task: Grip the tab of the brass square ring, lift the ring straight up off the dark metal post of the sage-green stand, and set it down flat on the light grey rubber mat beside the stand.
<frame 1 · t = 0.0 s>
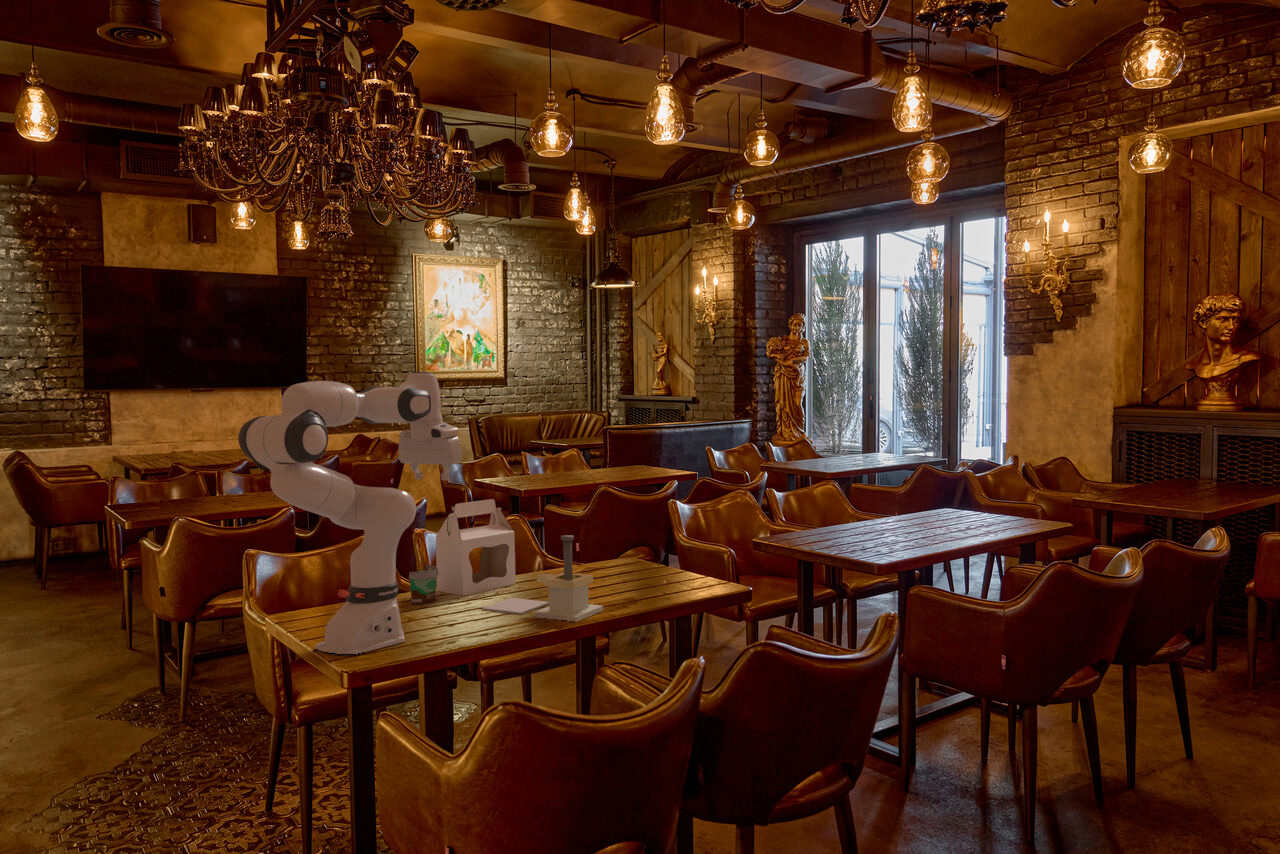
hand: (432, 479, 251), 39 cm above the table, tool pointing down, fingers open, 8 cm apart
food container: (428, 602, 273), on the table
gable box: (476, 588, 292), on the table
stand: (569, 614, 254), on the table
mat: (516, 606, 264), on the table
ring: (568, 584, 253), point 8 cm above the table, touching stand
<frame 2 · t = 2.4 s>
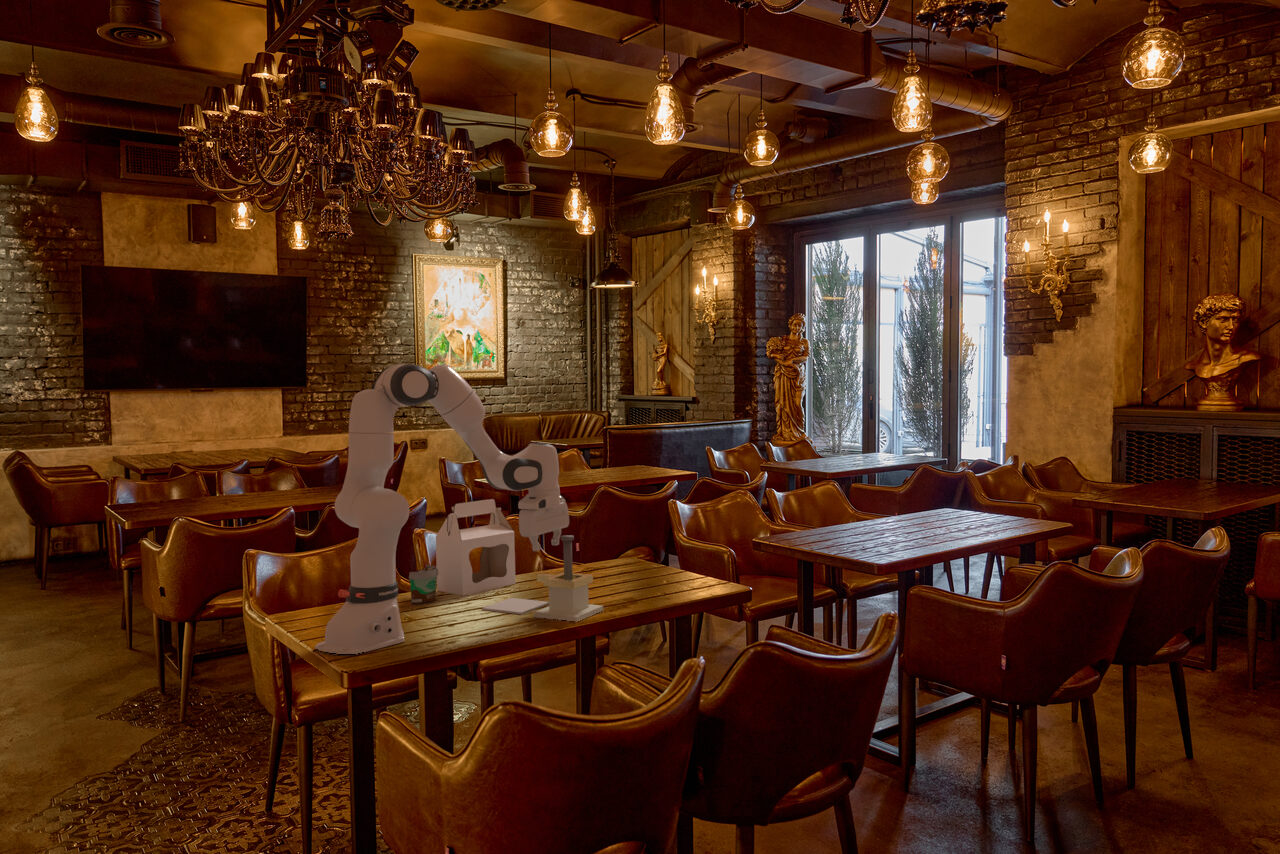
hand: (546, 547, 257), 18 cm above the table, tool pointing down, fingers open, 8 cm apart
nothing on the table moved.
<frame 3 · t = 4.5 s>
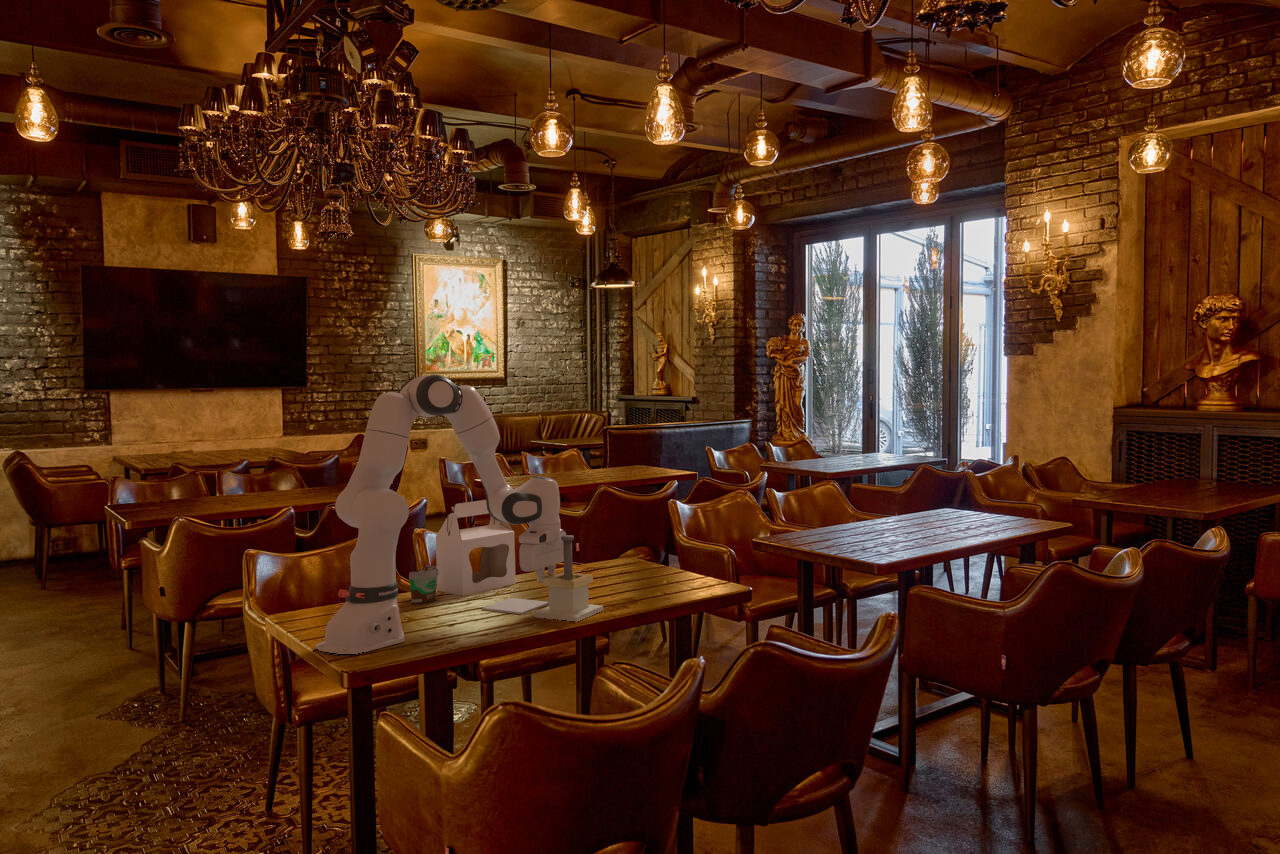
hand: (546, 581, 257), 9 cm above the table, tool pointing down, fingers closed on ring, 2 cm apart
ring: (568, 584, 253), point 8 cm above the table, touching gripper, stand
everything else where it was.
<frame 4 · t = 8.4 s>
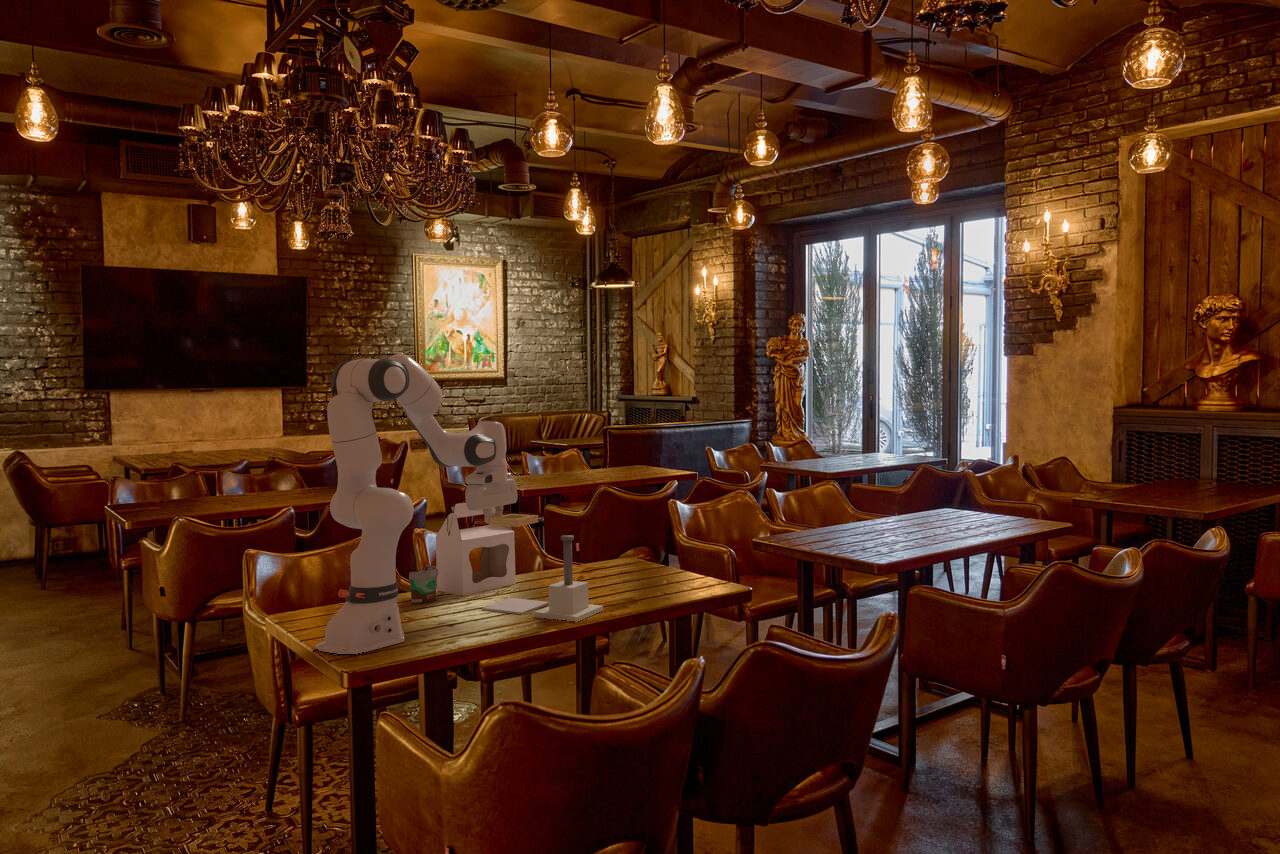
hand: (493, 522, 266), 25 cm above the table, tool pointing down, fingers closed on ring
ring: (514, 523, 263), point 24 cm above the table, touching gripper
everything else where it was.
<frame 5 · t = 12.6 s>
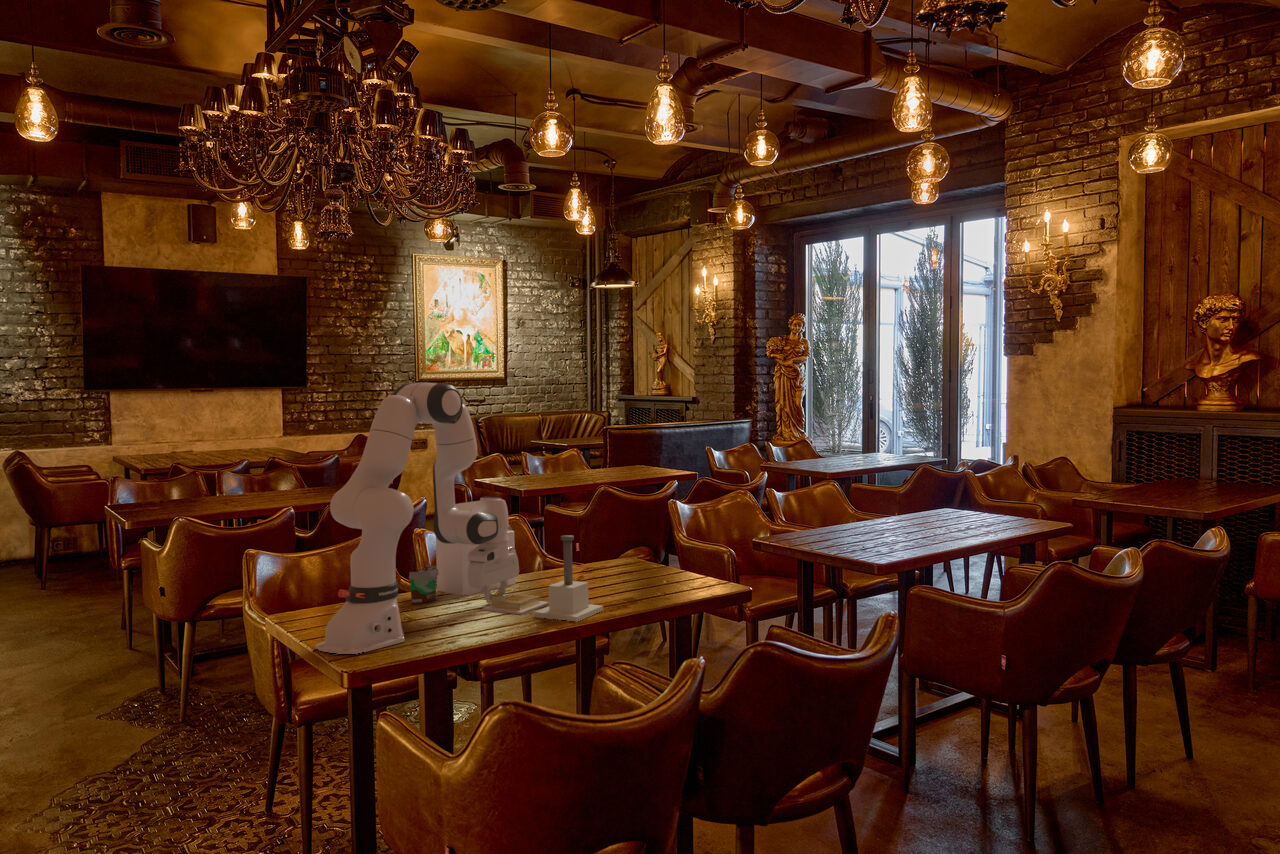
hand: (495, 597, 267), 2 cm above the table, tool pointing down, fingers open, 5 cm apart
ring: (515, 604, 264), point 1 cm above the table, touching mat
everything else where it was.
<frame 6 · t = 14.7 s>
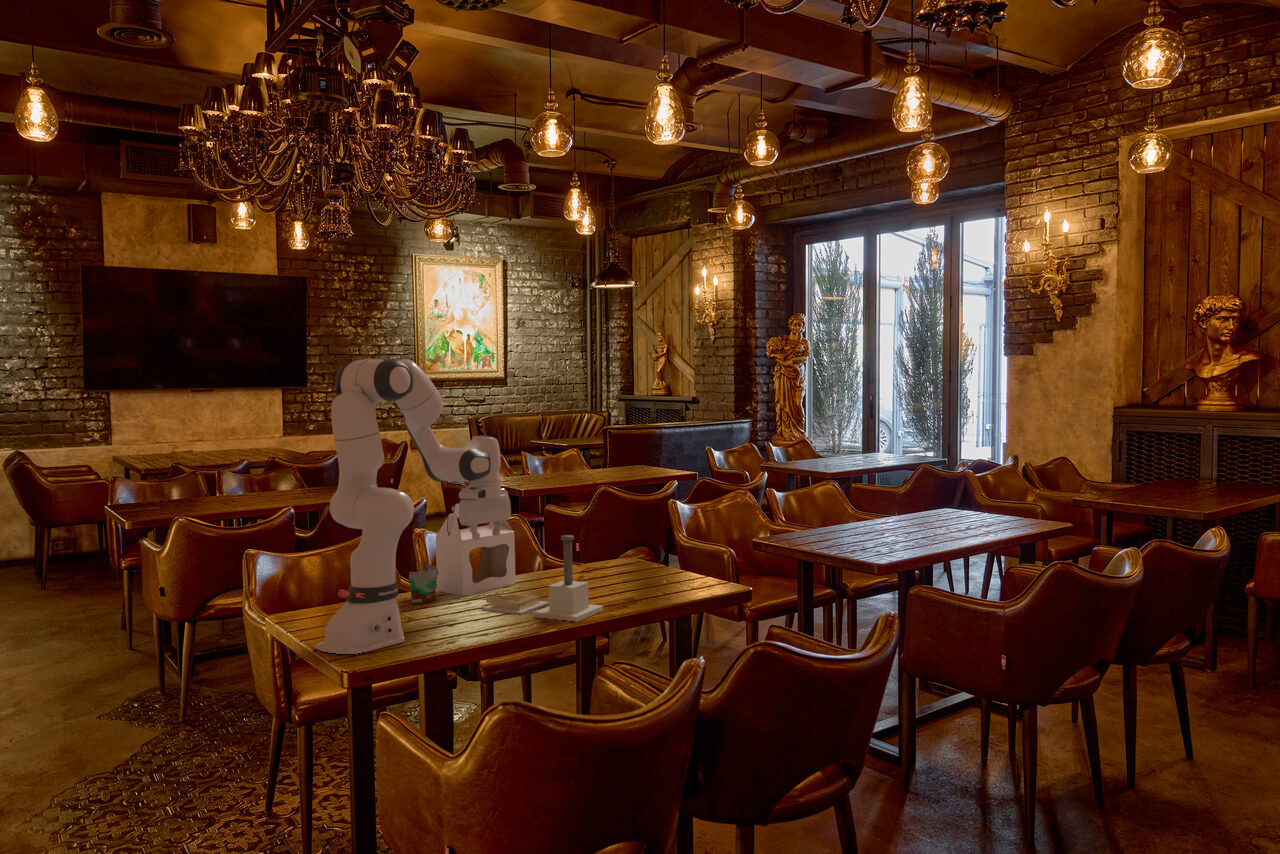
hand: (486, 537, 266), 20 cm above the table, tool pointing down, fingers open, 8 cm apart
nothing on the table moved.
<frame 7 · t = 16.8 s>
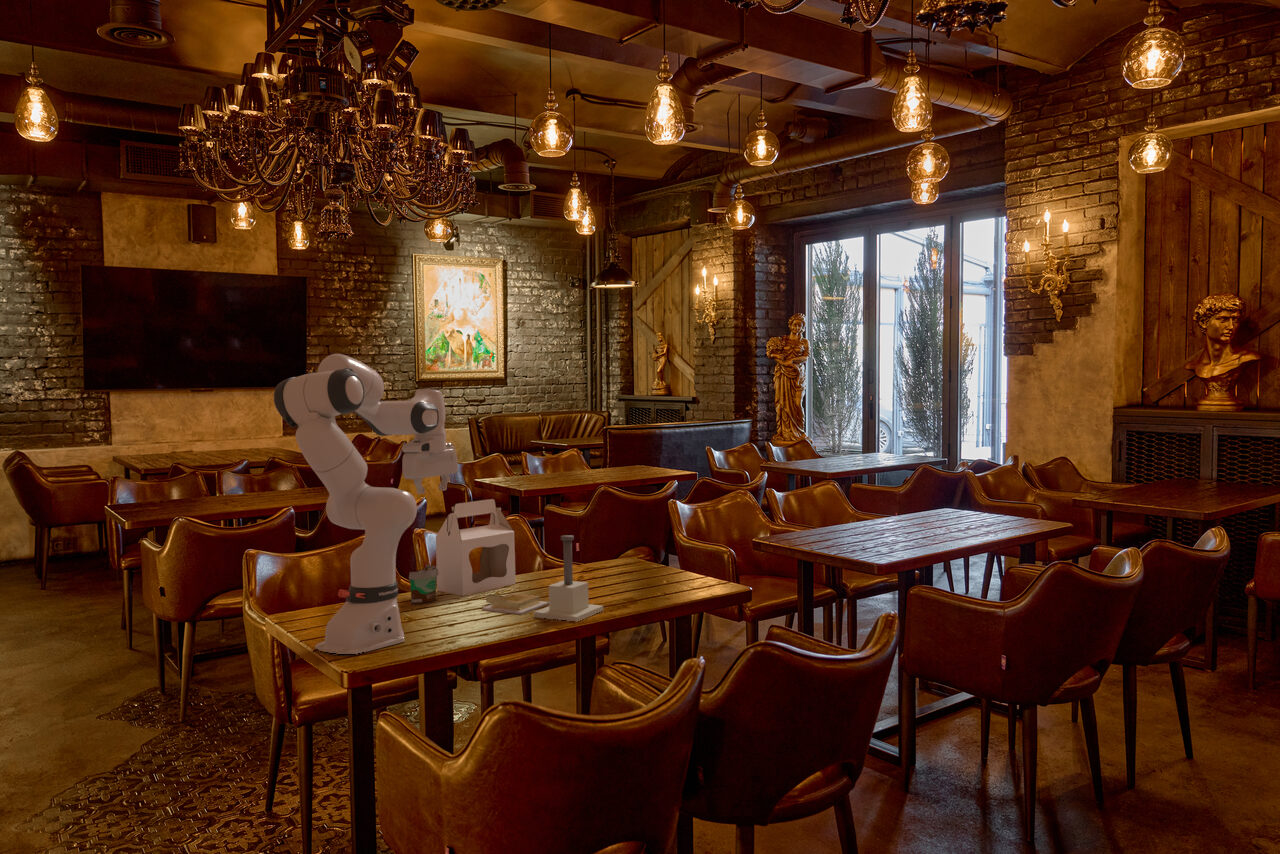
hand: (432, 491, 263), 34 cm above the table, tool pointing down, fingers open, 8 cm apart
nothing on the table moved.
at the end: ring inside the target area on the mat (0.1 cm from its centre), point 0.6 cm above the mat's base; ring tilted 0°; the gripper is holding nothing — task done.
